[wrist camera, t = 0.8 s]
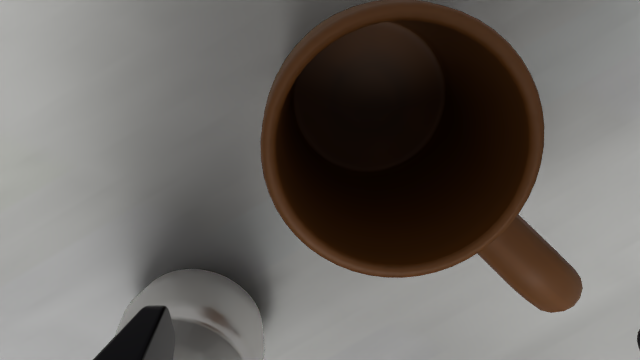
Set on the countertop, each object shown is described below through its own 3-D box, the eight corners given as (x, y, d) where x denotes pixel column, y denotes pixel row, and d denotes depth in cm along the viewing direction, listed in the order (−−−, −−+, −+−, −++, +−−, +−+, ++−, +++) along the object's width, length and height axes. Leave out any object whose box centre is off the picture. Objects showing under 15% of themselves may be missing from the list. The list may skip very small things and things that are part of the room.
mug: (555, 156, 22) (714, 248, 13) (434, 266, 24) (503, 413, 15) (365, -35, 20) (403, -81, 11) (246, 104, 21) (193, 164, 12)
